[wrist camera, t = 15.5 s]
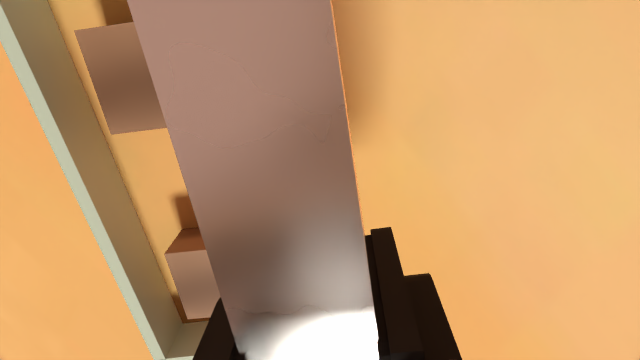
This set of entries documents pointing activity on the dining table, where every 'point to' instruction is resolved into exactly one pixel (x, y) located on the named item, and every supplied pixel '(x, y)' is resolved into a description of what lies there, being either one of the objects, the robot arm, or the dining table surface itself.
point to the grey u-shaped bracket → (93, 174)
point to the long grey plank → (267, 168)
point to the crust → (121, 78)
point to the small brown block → (193, 274)
